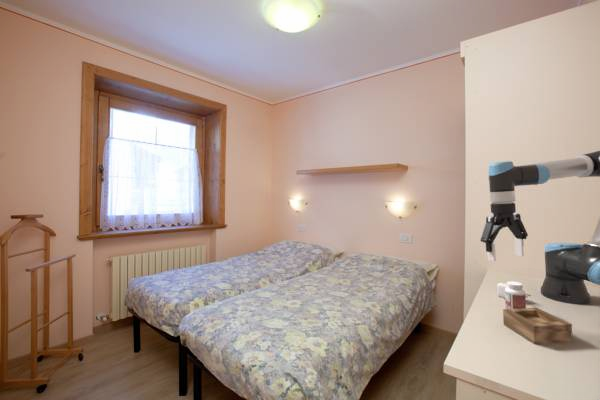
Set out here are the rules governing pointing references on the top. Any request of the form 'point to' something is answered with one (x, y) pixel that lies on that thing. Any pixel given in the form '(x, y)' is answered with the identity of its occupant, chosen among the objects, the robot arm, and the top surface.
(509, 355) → the top surface
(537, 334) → the wooden box
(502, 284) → the power adapter
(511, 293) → the pill bottle
